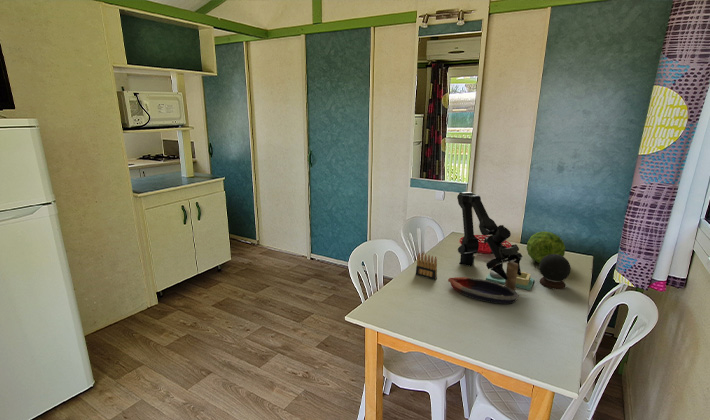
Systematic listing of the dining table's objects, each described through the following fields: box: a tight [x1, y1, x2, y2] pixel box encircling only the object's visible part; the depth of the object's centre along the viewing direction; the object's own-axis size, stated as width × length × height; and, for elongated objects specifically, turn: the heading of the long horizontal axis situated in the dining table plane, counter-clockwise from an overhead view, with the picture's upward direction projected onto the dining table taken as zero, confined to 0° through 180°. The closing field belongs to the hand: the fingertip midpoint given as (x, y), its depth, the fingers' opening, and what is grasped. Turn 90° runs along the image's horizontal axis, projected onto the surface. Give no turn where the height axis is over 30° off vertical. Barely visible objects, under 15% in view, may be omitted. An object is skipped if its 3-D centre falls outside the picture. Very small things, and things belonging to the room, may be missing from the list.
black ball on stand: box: [538, 254, 572, 290], centre depth 178 cm, size 13×13×15 cm
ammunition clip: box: [415, 252, 438, 281], centre depth 185 cm, size 11×2×12 cm, turn 55°
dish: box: [447, 276, 519, 305], centre depth 168 cm, size 16×31×5 cm, turn 55°
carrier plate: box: [485, 270, 535, 291], centre depth 183 cm, size 20×12×4 cm, turn 57°
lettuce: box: [526, 230, 566, 265], centre depth 204 cm, size 19×23×18 cm
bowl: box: [459, 234, 512, 255], centre depth 222 cm, size 29×29×5 cm
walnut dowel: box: [504, 262, 518, 292], centre depth 172 cm, size 5×5×13 cm
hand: (513, 277), depth 170 cm, fingers open, 9 cm apart
